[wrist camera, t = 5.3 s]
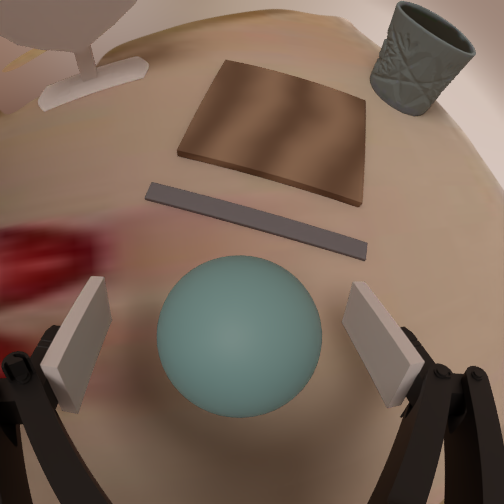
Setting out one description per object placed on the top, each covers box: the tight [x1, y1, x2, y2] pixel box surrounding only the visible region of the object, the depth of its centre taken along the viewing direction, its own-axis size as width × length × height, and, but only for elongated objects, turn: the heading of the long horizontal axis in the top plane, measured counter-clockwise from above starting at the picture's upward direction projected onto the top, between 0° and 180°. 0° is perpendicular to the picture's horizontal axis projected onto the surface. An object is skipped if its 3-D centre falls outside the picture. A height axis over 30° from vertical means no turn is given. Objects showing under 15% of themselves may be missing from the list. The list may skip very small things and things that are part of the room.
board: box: [177, 60, 366, 207], centre depth 28 cm, size 16×14×1 cm
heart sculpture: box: [0, 0, 149, 112], centre depth 20 cm, size 16×5×18 cm, turn 112°
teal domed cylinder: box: [157, 255, 322, 418], centre depth 14 cm, size 6×6×14 cm
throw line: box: [145, 182, 367, 261], centre depth 24 cm, size 18×2×1 cm, turn 76°
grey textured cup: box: [370, 1, 476, 116], centre depth 28 cm, size 10×10×12 cm
